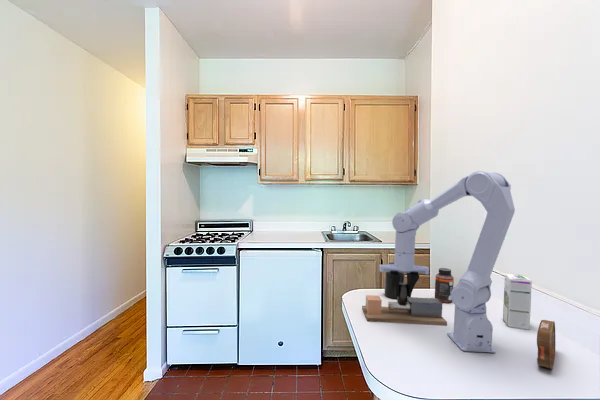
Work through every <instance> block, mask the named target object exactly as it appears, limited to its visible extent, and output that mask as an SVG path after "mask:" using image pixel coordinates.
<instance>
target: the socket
mask: <svg viewBox="0 0 600 400" xmlns="http://www.w3.org/2000/svg"><path fill="white" fill-rule="evenodd" d="M382 303H383V302H382V298H381V297H380V295H372V294H366V295H365V305H364V306H365V309H366V311H367V314H373V315H381V306H382Z"/></svg>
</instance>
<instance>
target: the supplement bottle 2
mask: <svg viewBox="0 0 600 400" xmlns="http://www.w3.org/2000/svg"><path fill="white" fill-rule="evenodd" d="M434 280H435V282H434V298H436V299H438V300H439V301H440V302H441V303H445V304H447V303H448V304H450V303H453V301H452V299H451V291H452V289H453V288H454V283H455V281H454V280H455V277H454V276H453V275H452V270H451V268H447V267H440V268H438V273H437V274H436V275H435V279H434Z"/></svg>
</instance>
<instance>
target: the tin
mask: <svg viewBox="0 0 600 400" xmlns="http://www.w3.org/2000/svg"><path fill="white" fill-rule="evenodd" d="M538 325H539V326H538V329H537V333H536V347H537V358H536V361H537V365H538V366H539V367H544V368H547V369H550V370H553V368H554V362H555V359H556V358H555V357H556V323H555V321H554V320H553V321H552V320H547V319H541V320H540V323H539V324H538Z"/></svg>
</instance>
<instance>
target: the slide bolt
mask: <svg viewBox="0 0 600 400" xmlns="http://www.w3.org/2000/svg"><path fill="white" fill-rule="evenodd" d="M396 300H397V301H388V303H387V307H388V309H389V310H405V311H411V303H409V302H408V284H407V282H404V283H399V297H397V299H396Z"/></svg>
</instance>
